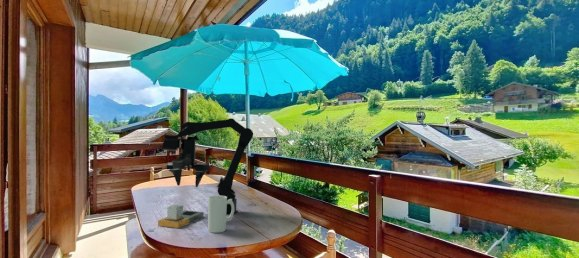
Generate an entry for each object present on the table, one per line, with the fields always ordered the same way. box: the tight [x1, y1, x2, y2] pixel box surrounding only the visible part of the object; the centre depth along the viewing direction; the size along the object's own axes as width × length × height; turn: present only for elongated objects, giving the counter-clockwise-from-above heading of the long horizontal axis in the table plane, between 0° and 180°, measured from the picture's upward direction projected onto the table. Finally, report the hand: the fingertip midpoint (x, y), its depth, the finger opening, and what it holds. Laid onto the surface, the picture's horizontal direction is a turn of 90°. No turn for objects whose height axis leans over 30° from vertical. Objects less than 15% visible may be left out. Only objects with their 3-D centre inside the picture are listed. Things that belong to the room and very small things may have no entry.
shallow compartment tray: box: [157, 209, 205, 229], centre depth 125 cm, size 9×17×2 cm, turn 164°
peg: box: [166, 204, 184, 221], centre depth 120 cm, size 4×4×7 cm
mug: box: [207, 195, 235, 234], centre depth 115 cm, size 10×7×12 cm, turn 123°
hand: (187, 186), depth 136 cm, fingers open, 9 cm apart
